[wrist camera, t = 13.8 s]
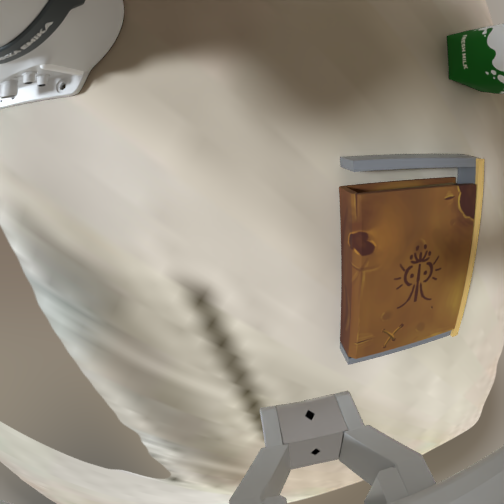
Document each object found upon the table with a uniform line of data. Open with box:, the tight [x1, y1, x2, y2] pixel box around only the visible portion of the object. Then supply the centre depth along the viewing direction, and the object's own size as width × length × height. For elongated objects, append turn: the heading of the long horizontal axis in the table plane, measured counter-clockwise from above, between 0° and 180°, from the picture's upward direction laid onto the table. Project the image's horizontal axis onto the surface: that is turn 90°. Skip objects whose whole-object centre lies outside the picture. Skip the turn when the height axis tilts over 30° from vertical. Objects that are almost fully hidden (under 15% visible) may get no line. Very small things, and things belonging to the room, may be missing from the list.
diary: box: [339, 177, 477, 359], centre depth 39 cm, size 23×19×6 cm
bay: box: [340, 154, 484, 365], centre depth 39 cm, size 20×28×5 cm
